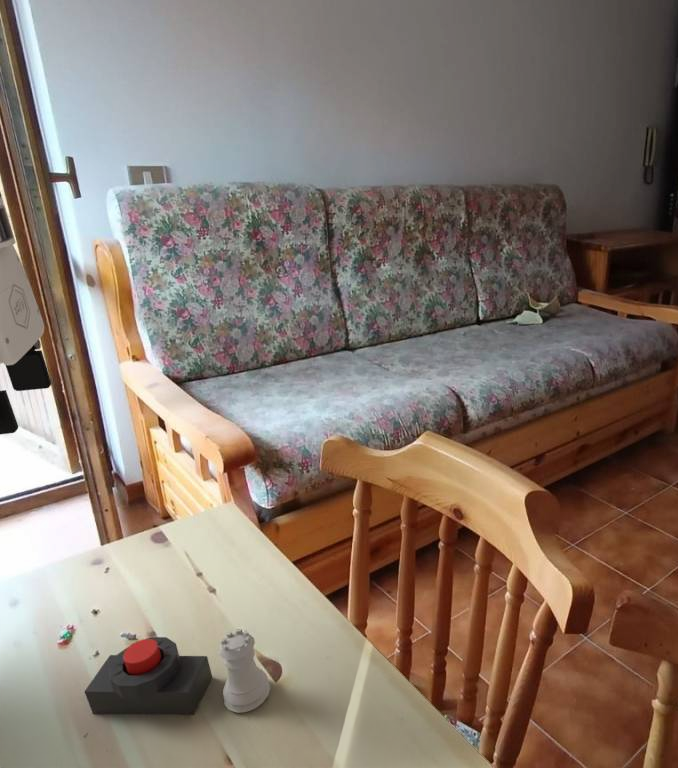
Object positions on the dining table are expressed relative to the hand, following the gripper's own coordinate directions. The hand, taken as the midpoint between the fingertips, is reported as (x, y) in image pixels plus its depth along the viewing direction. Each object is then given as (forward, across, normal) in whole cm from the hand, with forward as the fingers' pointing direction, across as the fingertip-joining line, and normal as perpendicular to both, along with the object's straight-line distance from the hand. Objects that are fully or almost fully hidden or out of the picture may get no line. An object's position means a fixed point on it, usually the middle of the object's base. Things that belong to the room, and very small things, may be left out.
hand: (16, 409), depth 60 cm
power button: (+24, -12, -8) cm, 28 cm away
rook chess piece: (+28, -15, -18) cm, 36 cm away
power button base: (+28, -12, -8) cm, 32 cm away
